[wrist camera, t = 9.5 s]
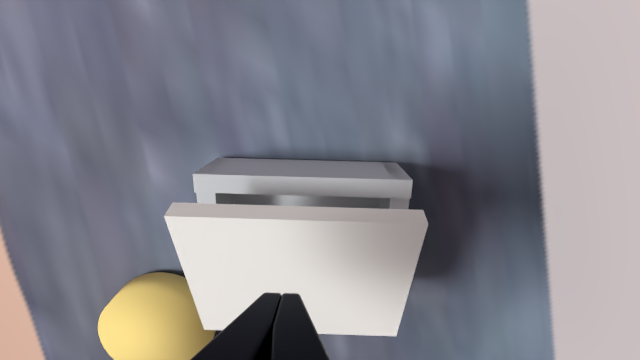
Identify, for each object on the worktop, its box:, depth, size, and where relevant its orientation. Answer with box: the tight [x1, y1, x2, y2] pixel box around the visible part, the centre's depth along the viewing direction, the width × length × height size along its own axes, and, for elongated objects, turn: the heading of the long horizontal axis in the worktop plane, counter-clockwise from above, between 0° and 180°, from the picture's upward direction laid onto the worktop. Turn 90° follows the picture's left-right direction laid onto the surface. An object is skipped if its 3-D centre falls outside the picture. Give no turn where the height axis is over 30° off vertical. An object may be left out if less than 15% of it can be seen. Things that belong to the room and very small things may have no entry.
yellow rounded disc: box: [98, 272, 216, 360], centre depth 18 cm, size 6×6×2 cm
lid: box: [164, 203, 428, 336], centre depth 13 cm, size 7×9×1 cm
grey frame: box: [193, 158, 413, 209], centre depth 16 cm, size 7×9×3 cm
